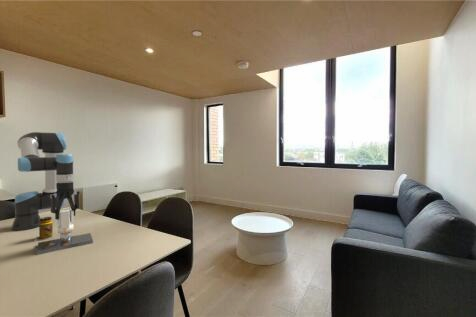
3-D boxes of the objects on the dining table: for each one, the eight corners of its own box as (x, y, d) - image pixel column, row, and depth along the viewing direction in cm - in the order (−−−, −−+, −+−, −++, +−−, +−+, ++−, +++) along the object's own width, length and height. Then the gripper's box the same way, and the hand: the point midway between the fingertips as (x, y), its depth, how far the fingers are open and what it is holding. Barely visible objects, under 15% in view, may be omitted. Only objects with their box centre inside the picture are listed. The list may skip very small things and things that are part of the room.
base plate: (38, 245, 124) (38, 232, 124) (90, 235, 139) (90, 224, 139) (36, 254, 113) (36, 240, 113) (92, 242, 128) (92, 230, 128)
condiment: (52, 238, 134) (52, 218, 134) (33, 241, 129) (33, 220, 129) (54, 234, 140) (53, 215, 140) (36, 237, 136) (35, 217, 135)
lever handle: (58, 229, 128) (58, 208, 127) (73, 227, 132) (73, 207, 131) (56, 235, 119) (56, 212, 119) (73, 232, 123) (72, 211, 123)
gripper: (47, 184, 115) (48, 229, 116) (86, 180, 131) (87, 220, 132) (41, 183, 119) (42, 226, 120) (79, 179, 135) (80, 218, 136)
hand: (65, 223), depth 126 cm, fingers closed on lever handle, 5 cm apart
